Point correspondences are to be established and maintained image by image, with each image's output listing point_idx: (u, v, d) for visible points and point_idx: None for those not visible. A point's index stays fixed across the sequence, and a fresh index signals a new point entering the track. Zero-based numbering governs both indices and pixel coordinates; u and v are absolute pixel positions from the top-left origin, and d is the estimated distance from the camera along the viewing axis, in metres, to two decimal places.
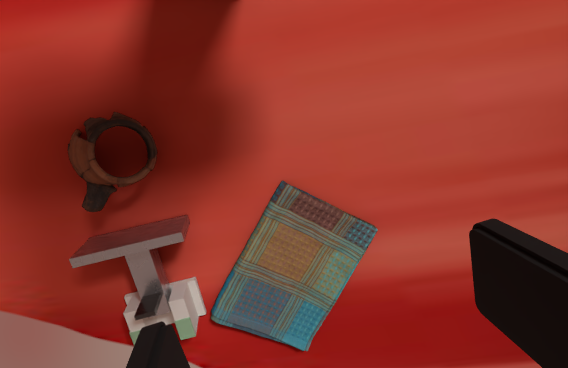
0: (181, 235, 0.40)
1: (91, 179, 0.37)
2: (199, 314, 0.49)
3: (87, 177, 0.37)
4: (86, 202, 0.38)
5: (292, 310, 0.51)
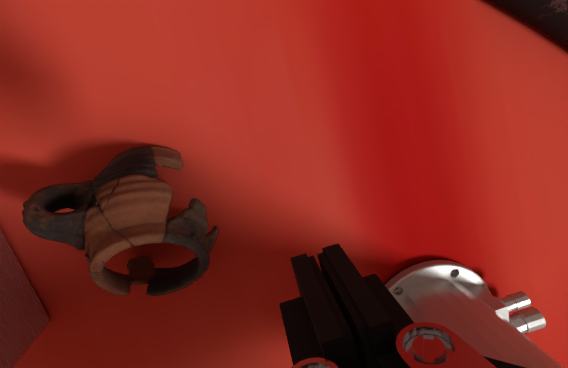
0: None
1: (91, 224, 0.20)
2: None
3: (94, 218, 0.20)
4: (40, 215, 0.20)
5: None
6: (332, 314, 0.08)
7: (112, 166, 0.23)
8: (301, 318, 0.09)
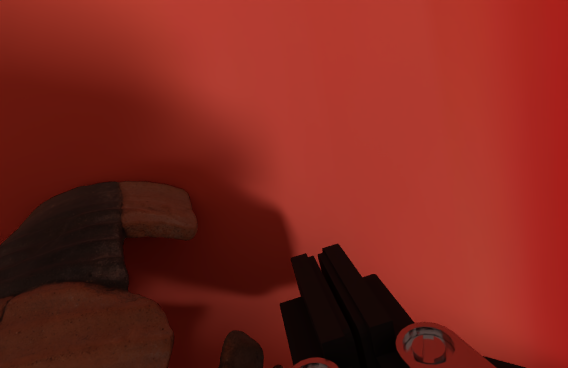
0: None
1: None
2: None
3: None
4: None
5: None
6: (332, 314, 0.08)
7: (14, 242, 0.09)
8: (300, 318, 0.09)
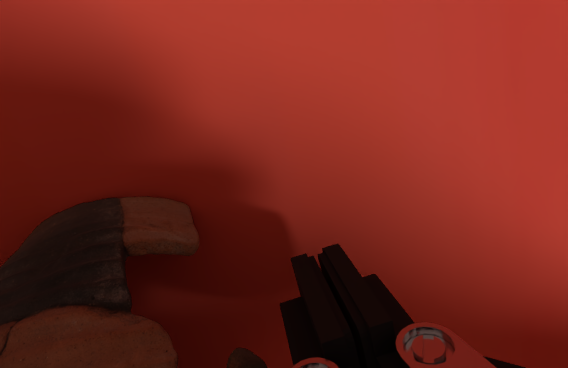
0: None
1: None
2: None
3: None
4: None
5: None
6: (332, 314, 0.08)
7: (16, 263, 0.09)
8: (300, 318, 0.09)
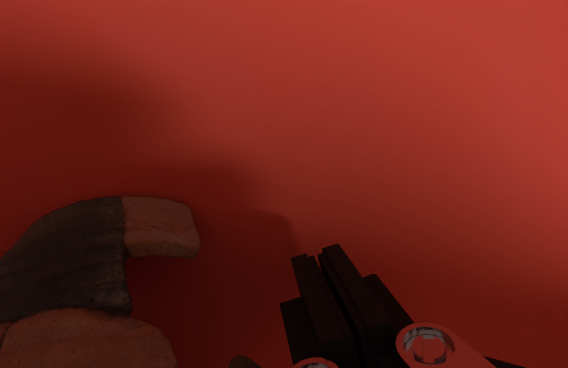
0: None
1: None
2: None
3: None
4: None
5: None
6: (332, 314, 0.08)
7: (12, 260, 0.09)
8: (301, 318, 0.09)
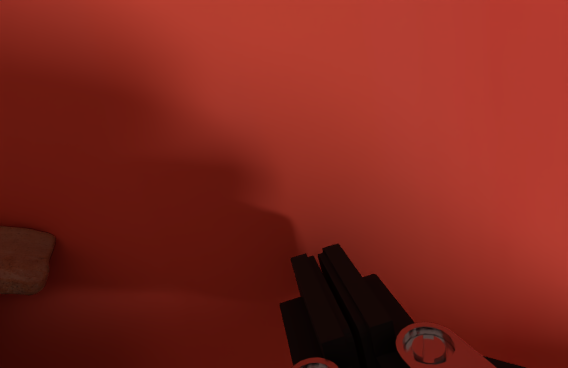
0: None
1: None
2: None
3: None
4: None
5: None
6: (332, 314, 0.08)
7: None
8: (300, 318, 0.09)
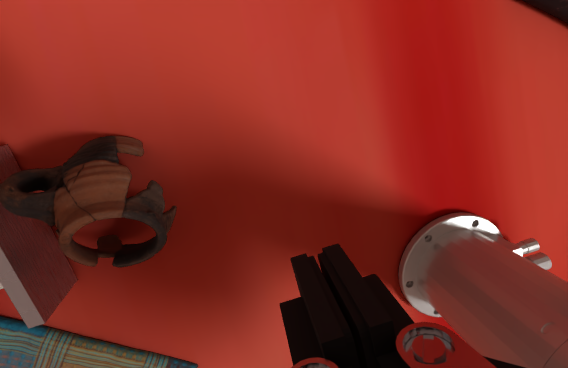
0: (38, 323, 0.25)
1: (59, 202, 0.23)
2: None
3: (62, 197, 0.23)
4: (14, 195, 0.23)
5: None
6: (332, 314, 0.08)
7: (79, 153, 0.26)
8: (301, 318, 0.09)
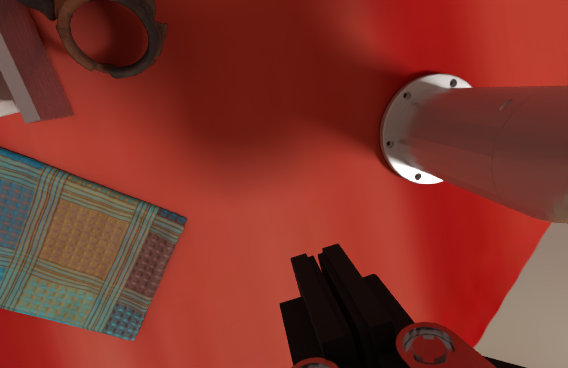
0: (35, 119, 0.27)
1: None
2: None
3: None
4: None
5: None
6: (332, 314, 0.08)
7: None
8: (300, 318, 0.09)
